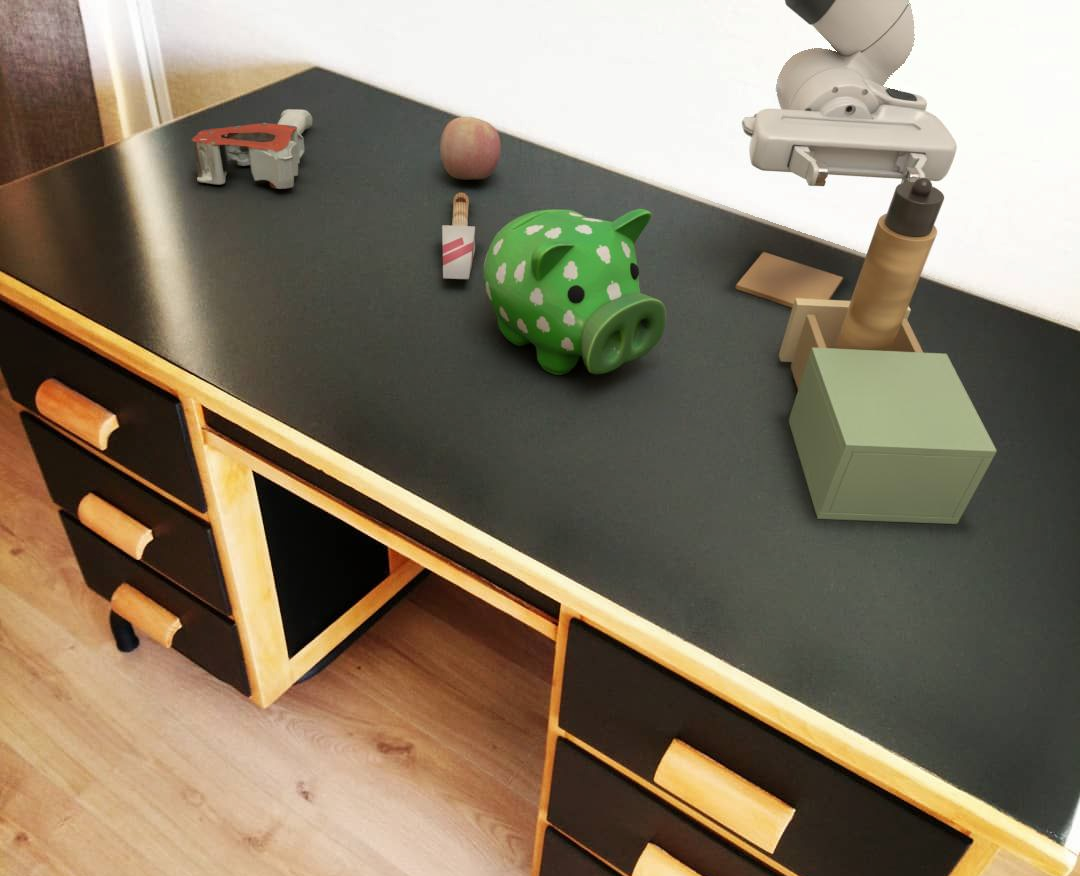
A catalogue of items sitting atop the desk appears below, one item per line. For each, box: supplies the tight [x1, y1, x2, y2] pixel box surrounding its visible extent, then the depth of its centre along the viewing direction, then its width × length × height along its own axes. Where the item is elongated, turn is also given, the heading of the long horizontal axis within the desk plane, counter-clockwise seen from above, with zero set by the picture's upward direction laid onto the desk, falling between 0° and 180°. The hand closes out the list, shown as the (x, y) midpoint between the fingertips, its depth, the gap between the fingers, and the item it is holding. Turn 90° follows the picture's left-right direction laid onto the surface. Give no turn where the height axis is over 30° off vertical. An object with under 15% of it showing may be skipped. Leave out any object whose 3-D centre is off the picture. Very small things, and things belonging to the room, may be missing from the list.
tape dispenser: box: [190, 108, 314, 190], centre depth 120 cm, size 18×5×20 cm
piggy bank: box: [482, 208, 667, 376], centre depth 92 cm, size 14×18×15 cm
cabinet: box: [788, 348, 998, 525], centre depth 84 cm, size 14×13×9 cm
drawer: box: [778, 298, 924, 390], centre depth 92 cm, size 14×11×7 cm
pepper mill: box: [834, 178, 945, 351], centre depth 85 cm, size 5×5×21 cm
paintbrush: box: [441, 192, 476, 280], centre depth 110 cm, size 4×3×20 cm
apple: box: [439, 116, 502, 181], centre depth 120 cm, size 8×8×8 cm
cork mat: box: [735, 251, 844, 309], centre depth 109 cm, size 10×9×1 cm
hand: (867, 181), depth 90 cm, fingers open, 8 cm apart
